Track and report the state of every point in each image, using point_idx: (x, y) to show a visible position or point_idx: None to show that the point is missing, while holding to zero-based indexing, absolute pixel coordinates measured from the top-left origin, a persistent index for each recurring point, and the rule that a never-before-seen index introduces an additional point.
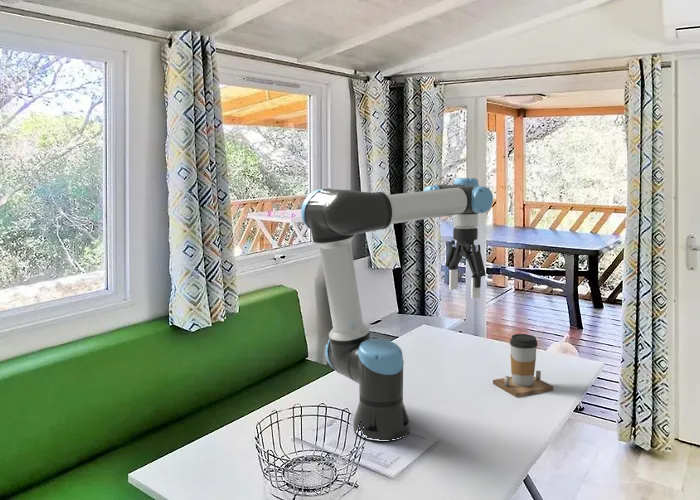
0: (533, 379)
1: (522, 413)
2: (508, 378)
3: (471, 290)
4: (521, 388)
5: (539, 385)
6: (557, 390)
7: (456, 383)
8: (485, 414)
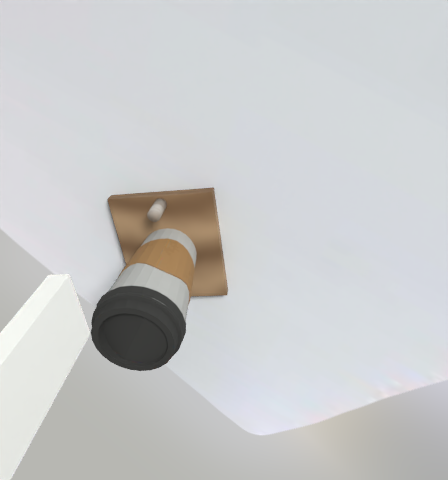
0: None
1: (15, 157)
2: (147, 215)
3: (31, 322)
4: (137, 229)
5: None
6: None
7: (249, 81)
8: (10, 56)
